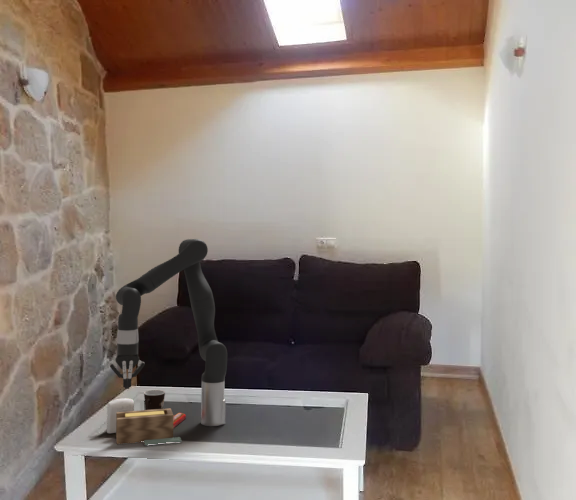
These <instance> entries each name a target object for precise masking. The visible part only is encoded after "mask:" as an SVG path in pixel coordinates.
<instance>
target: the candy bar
mask: <svg viewBox="0 0 576 500" xmlns="http://www.w3.org/2000/svg"><path fill="white" fill-rule="evenodd" d="M186 418H187V416H186V414H185V413H183V412H178V413H176V414H174V417H173V429H174V428H176V427H177V426H178V425H179V424H181V423H182V422H183V421H185V419H186Z"/></svg>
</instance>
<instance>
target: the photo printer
mask: <svg viewBox="0 0 576 500" xmlns="http://www.w3.org/2000/svg"><path fill="white" fill-rule="evenodd" d="M134 402H135V401H134V400H133V399H132V398H125V397H124V398H117V399H112V400H111V401H109V402H108V403H107V408H106V414H107V415H106V433H107V434H116V412H126V411H135V403H134Z"/></svg>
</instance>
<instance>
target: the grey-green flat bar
mask: <svg viewBox="0 0 576 500" xmlns="http://www.w3.org/2000/svg"><path fill="white" fill-rule="evenodd" d="M182 441H183V440H182V438H181V437H180V436H177V437H176V436H175V437H173V438H164V439H152V440H144V442H143V444H144V443H145V444H144V446H145V445H148V444H158V443H166V442H182Z"/></svg>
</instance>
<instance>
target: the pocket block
mask: <svg viewBox="0 0 576 500" xmlns="http://www.w3.org/2000/svg"><path fill="white" fill-rule="evenodd" d="M153 411H164V414H163V415H150V416H137V417H125V414H126V413H139V412H153ZM174 416H175V414H174V413H173V411H172V408H171V407H170V408H163V409H154V410H146V409H144V410H143V409H141V410H134V411H126V412H116V433H115V435H116V437H115V438H116V440H115V441H116V445H124V444H123V443H127V444H134V443H135V442H138V443H142V442H141V441H144V440H152V439H164V438H174V428H173V417H174ZM135 444H136V443H135Z"/></svg>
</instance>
